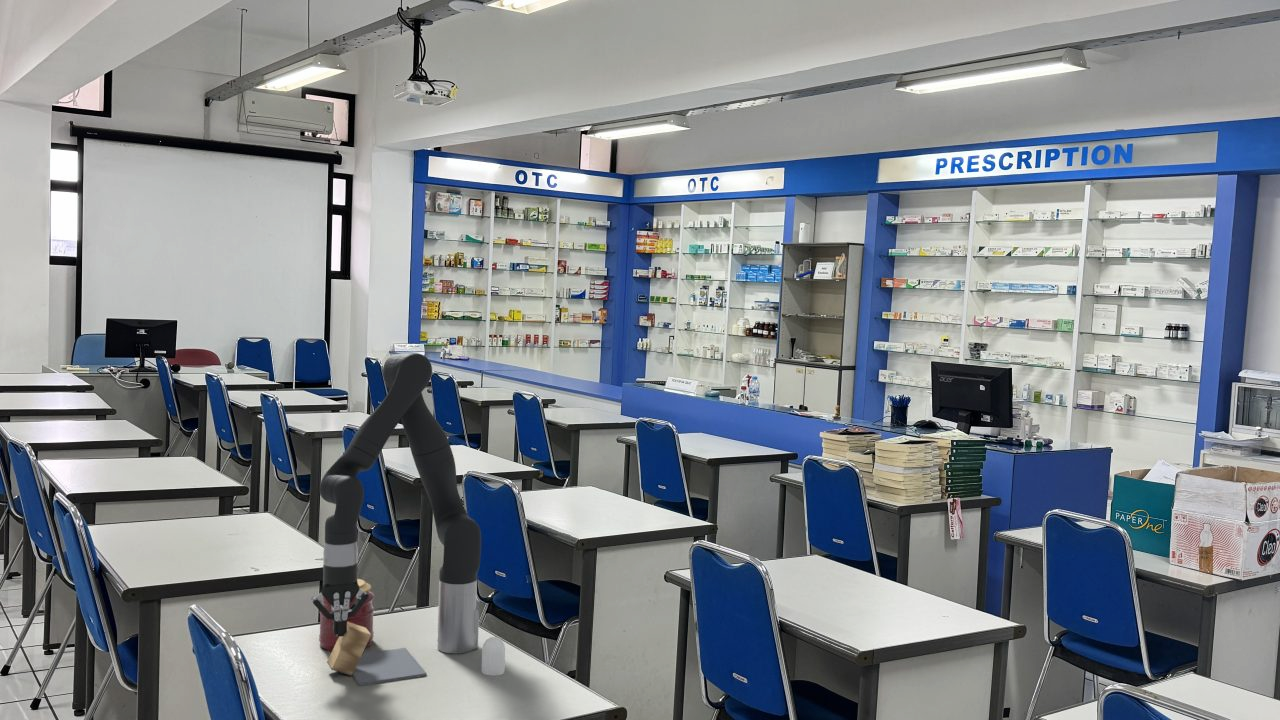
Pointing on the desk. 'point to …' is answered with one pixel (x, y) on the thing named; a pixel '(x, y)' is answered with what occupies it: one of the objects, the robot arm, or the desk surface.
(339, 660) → the oak block
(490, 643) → the white domed cylinder
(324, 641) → the canister
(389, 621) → the desk surface
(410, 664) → the mat
